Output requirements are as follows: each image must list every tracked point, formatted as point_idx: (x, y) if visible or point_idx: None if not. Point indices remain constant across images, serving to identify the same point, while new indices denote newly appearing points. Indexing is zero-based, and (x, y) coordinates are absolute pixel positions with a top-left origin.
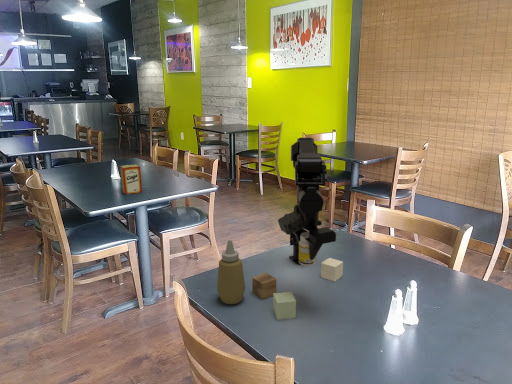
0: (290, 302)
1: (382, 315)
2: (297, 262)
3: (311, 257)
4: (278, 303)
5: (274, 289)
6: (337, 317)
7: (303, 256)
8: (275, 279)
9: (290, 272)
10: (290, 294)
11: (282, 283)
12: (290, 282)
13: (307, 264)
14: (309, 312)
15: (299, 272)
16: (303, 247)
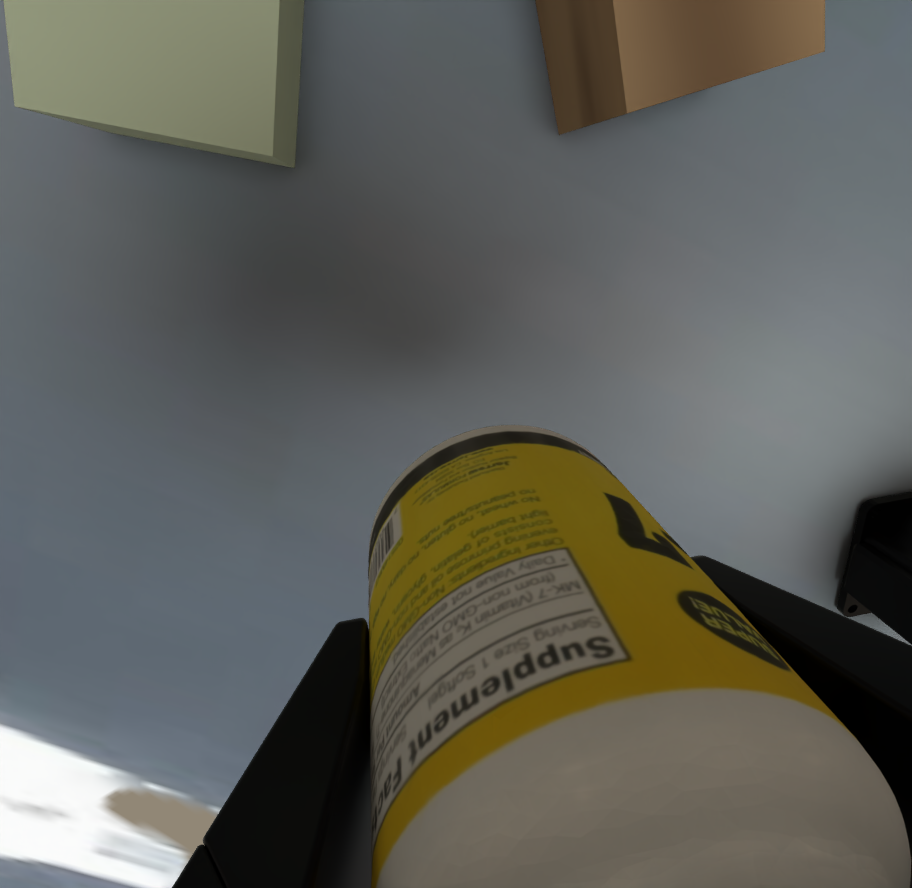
0: (13, 21)
1: (60, 723)
2: (884, 505)
3: (320, 662)
4: None
5: (574, 102)
6: (70, 470)
7: (435, 540)
8: (623, 98)
9: (805, 406)
10: (204, 113)
11: (694, 273)
12: (675, 344)
13: (380, 516)
14: (181, 295)
15: (767, 467)
16: (479, 718)
